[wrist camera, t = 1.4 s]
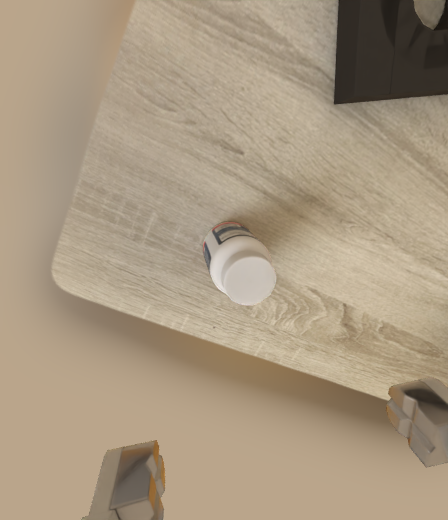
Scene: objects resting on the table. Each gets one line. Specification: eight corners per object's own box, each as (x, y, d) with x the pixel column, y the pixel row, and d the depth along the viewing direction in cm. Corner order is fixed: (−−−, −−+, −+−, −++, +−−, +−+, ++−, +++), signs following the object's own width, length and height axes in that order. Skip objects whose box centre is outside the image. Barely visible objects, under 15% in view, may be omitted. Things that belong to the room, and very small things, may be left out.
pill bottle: (234, 277, 29) (257, 324, 21) (193, 254, 27) (200, 296, 19) (262, 237, 28) (298, 269, 19) (221, 210, 26) (241, 234, 18)
